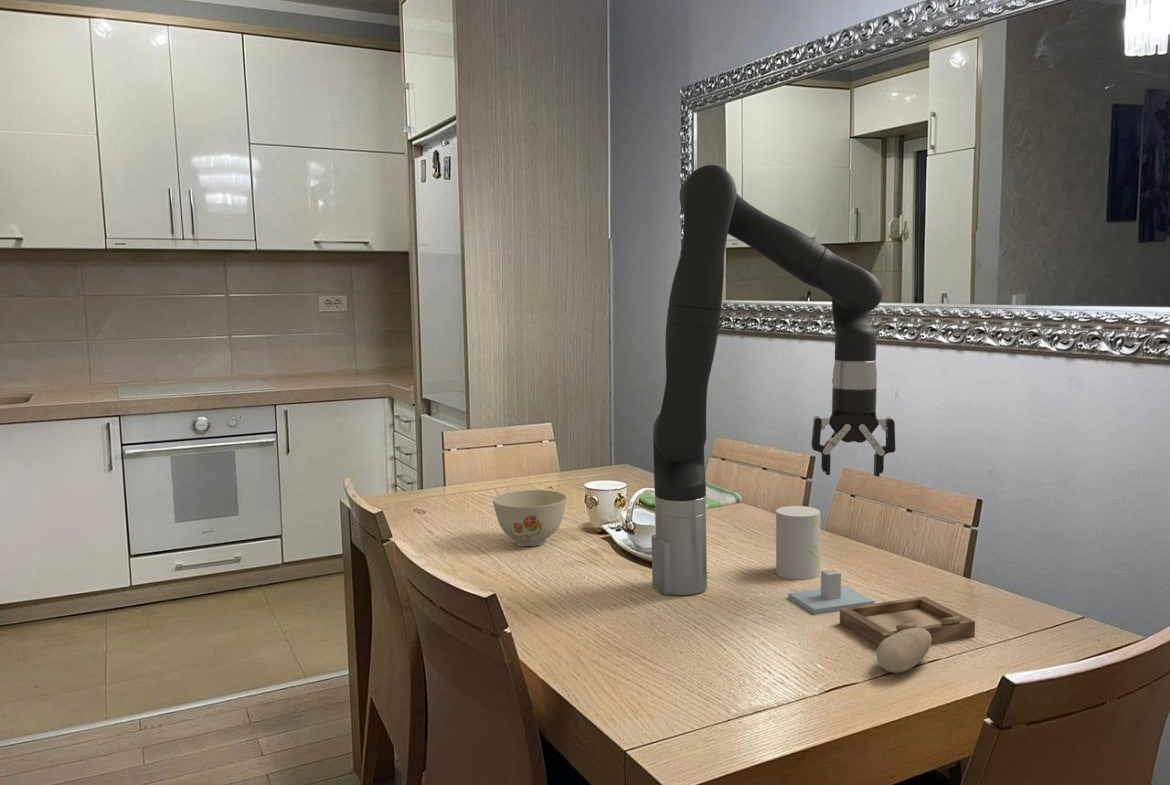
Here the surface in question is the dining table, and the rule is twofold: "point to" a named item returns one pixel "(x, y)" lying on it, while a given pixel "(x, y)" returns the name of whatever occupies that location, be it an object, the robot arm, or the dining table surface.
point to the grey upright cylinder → (798, 542)
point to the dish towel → (713, 497)
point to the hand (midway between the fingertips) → (852, 474)
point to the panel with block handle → (829, 595)
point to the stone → (903, 649)
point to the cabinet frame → (906, 620)
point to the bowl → (530, 514)
